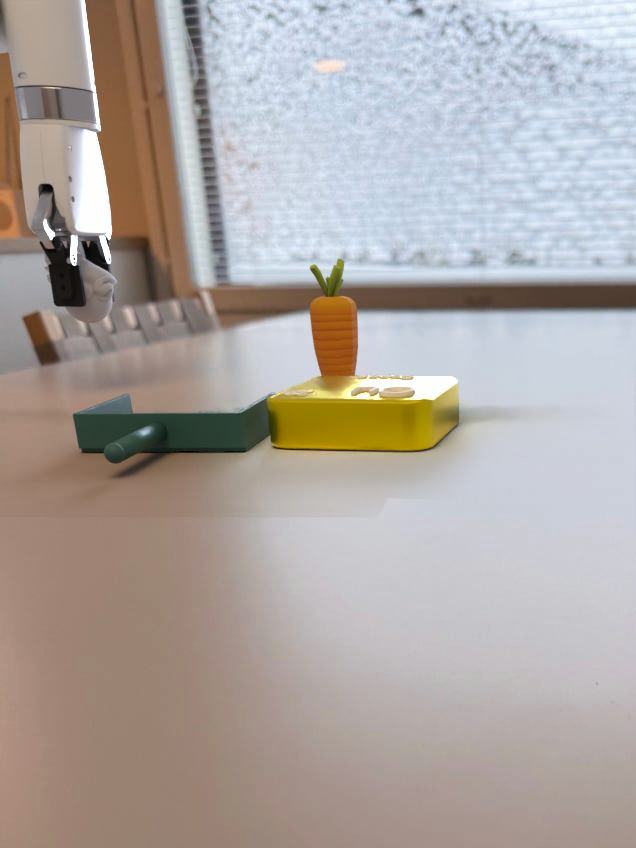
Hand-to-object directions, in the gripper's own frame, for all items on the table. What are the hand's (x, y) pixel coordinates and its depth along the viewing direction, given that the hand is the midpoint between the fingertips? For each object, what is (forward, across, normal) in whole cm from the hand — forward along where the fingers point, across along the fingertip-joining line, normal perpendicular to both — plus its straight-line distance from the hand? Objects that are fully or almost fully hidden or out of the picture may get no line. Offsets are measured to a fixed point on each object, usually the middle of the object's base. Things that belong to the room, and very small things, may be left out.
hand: (85, 302), depth 102 cm
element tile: (+10, +16, +33) cm, 38 cm away
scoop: (+11, +23, +16) cm, 30 cm away
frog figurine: (+2, 0, 0) cm, 2 cm away
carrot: (+10, 0, +27) cm, 29 cm away
